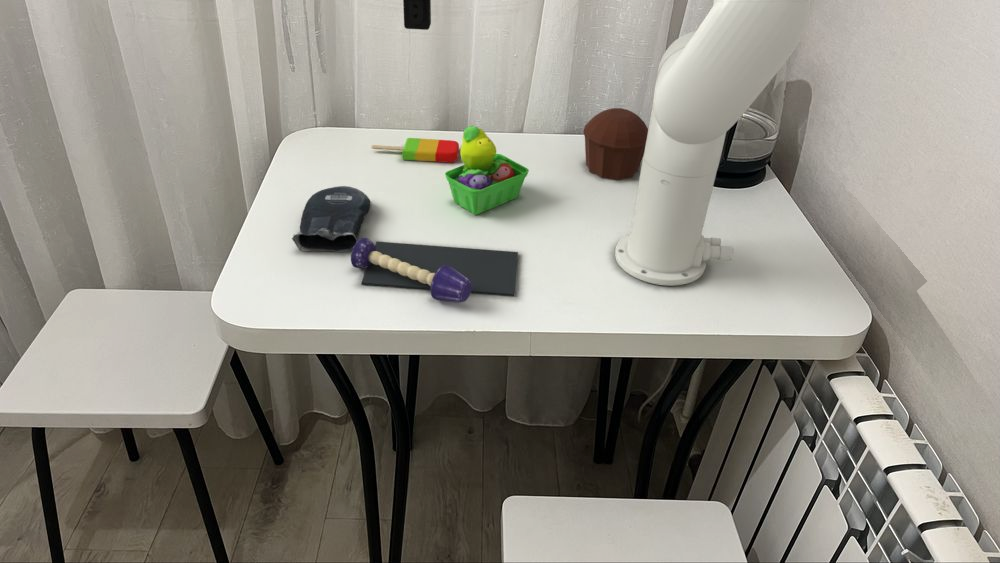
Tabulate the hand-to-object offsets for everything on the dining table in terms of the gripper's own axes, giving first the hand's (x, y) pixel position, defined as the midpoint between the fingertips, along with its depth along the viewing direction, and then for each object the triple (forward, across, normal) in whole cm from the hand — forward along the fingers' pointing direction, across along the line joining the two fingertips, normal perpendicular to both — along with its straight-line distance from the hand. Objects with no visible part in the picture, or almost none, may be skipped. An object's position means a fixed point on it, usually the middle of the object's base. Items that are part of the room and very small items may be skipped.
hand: (417, 27), depth 94 cm
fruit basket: (+29, +8, -9) cm, 31 cm away
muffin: (+29, +21, -30) cm, 47 cm away
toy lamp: (+26, -13, +7) cm, 30 cm away
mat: (+28, -12, -4) cm, 31 cm away
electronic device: (+28, -3, +12) cm, 31 cm away
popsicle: (+28, +22, +4) cm, 36 cm away
